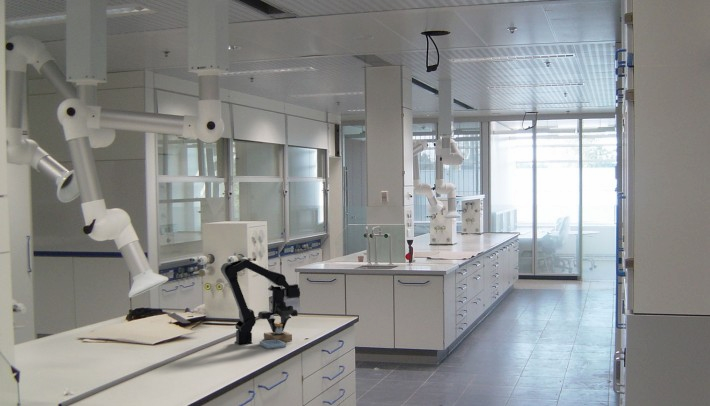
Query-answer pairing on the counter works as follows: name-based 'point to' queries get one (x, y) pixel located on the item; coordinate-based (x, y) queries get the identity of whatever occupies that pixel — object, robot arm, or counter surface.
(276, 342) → the tray
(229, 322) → the counter surface
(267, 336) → the brown square frame
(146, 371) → the counter surface
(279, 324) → the pin
